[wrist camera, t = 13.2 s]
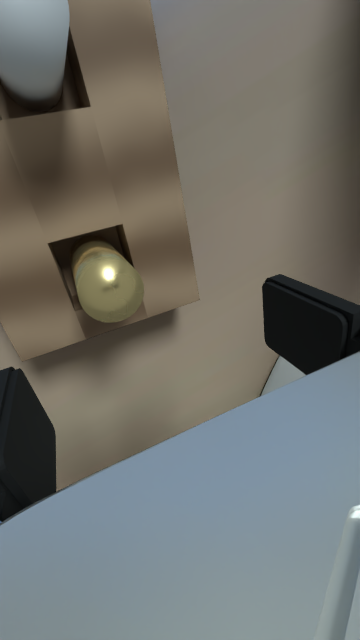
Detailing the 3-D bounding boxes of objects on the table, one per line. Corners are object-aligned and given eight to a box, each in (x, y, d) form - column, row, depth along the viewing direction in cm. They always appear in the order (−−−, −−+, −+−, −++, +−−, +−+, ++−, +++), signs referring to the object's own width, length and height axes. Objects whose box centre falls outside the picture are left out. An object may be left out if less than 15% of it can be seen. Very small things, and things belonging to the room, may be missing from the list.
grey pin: (-15, 41, 19) (-69, -77, 10) (49, 35, 20) (47, -77, 11) (13, 115, 21) (-13, 68, 12) (70, 107, 22) (82, 57, 13)
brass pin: (62, 242, 25) (67, 271, 17) (108, 230, 26) (135, 252, 18) (78, 285, 27) (90, 331, 18) (120, 272, 28) (150, 310, 19)
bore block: (-147, -14, 17) (-229, -95, 12) (115, -24, 21) (135, -89, 16) (27, 330, 29) (22, 361, 24) (176, 282, 33) (199, 299, 28)
